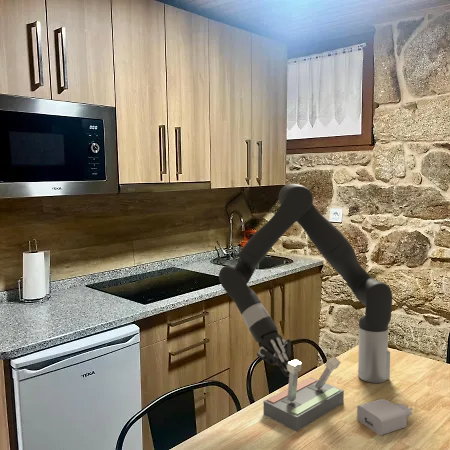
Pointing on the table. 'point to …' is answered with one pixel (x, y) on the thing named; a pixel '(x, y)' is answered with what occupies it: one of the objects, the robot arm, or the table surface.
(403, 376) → the table surface
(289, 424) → the switch box
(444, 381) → the table surface
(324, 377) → the lever on
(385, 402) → the charger
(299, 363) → the switch lever
